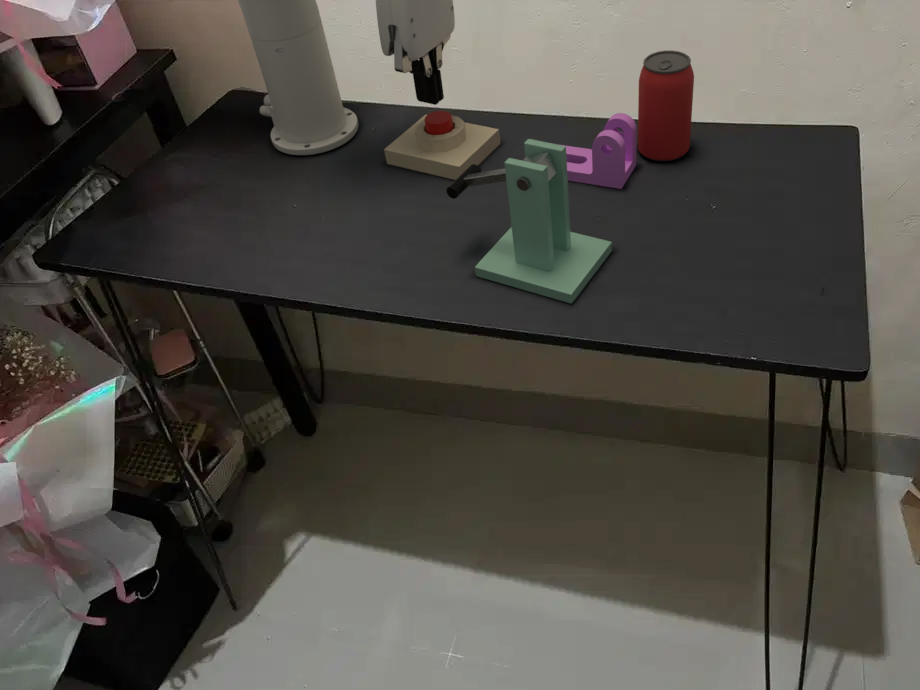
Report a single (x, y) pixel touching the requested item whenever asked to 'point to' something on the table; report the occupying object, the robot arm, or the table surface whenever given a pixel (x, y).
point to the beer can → (665, 105)
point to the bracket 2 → (606, 155)
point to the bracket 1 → (542, 232)
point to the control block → (442, 148)
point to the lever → (493, 175)
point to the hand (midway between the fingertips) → (430, 99)
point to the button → (438, 123)
